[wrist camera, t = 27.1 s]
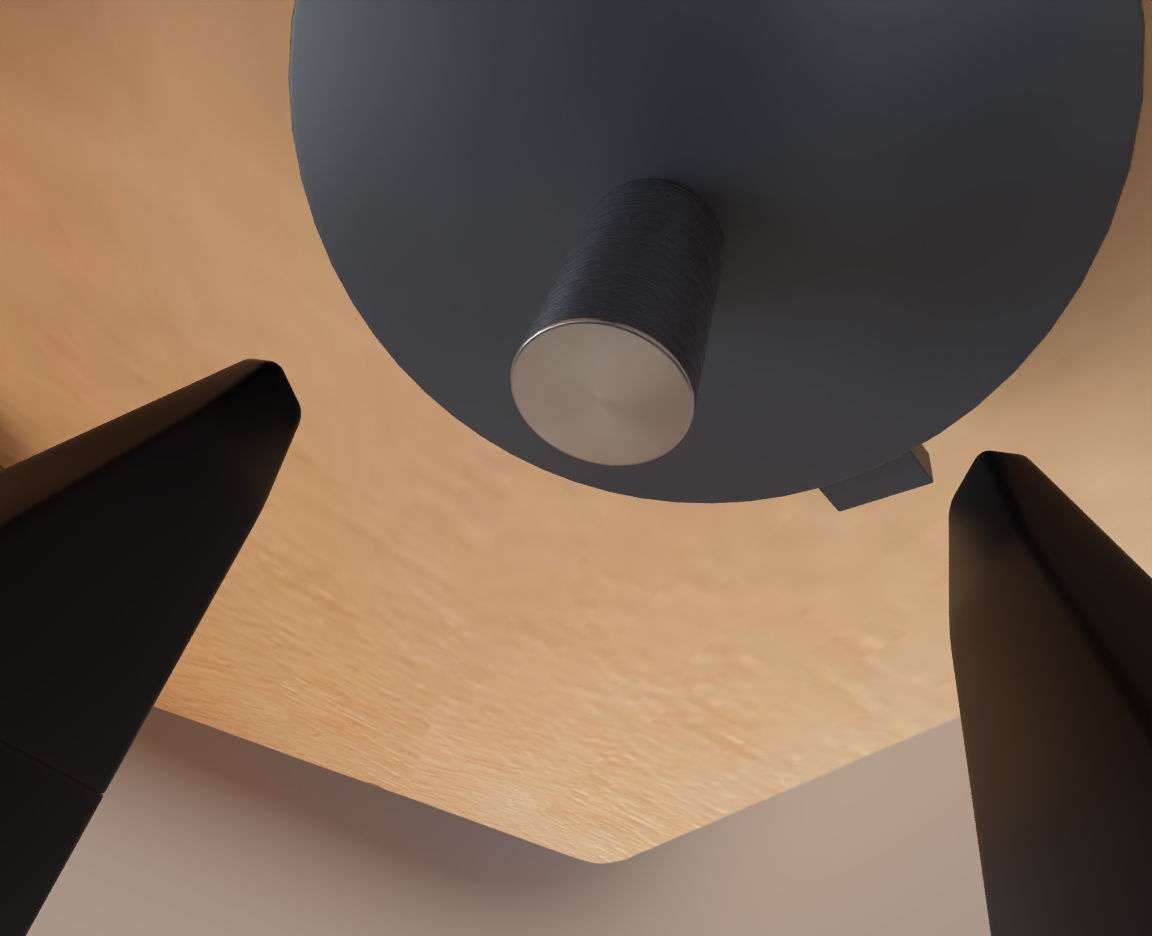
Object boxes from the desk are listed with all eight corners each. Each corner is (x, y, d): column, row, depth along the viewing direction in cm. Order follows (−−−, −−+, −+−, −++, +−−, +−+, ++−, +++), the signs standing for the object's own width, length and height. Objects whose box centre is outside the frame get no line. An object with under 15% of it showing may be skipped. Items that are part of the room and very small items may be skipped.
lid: (687, 539, 19) (659, 709, 16) (252, 246, 15) (85, 387, 12) (1322, 185, 9) (1622, 428, 6) (566, -877, 5) (134, -1988, 2)
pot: (704, 437, 24) (680, 579, 20) (288, -7, 16) (106, 68, 12) (1123, 248, 16) (1234, 420, 12) (681, -785, 8) (547, -1344, 4)
